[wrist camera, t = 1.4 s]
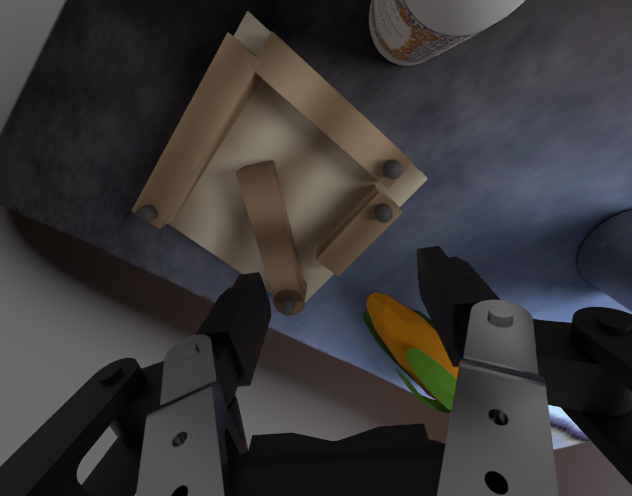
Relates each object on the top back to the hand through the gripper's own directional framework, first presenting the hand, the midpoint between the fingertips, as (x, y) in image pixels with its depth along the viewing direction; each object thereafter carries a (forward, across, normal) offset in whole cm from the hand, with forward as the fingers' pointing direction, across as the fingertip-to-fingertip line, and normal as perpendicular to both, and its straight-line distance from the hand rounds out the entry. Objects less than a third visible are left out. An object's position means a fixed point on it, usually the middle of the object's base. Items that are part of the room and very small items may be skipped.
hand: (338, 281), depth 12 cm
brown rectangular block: (+17, +7, +4) cm, 19 cm away
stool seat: (+20, +6, 0) cm, 20 cm away
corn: (+20, -6, +21) cm, 30 cm away
